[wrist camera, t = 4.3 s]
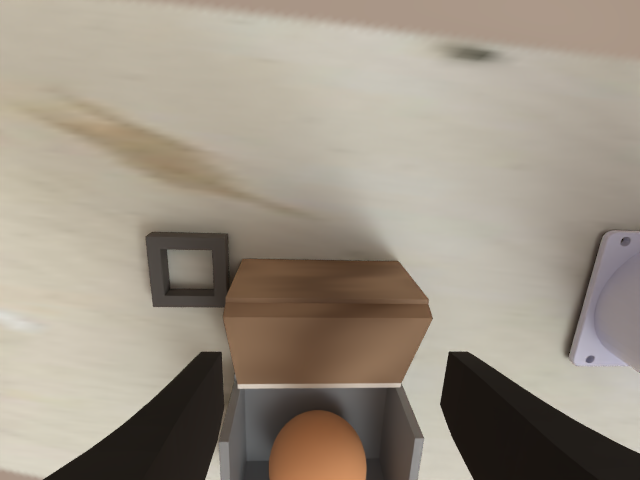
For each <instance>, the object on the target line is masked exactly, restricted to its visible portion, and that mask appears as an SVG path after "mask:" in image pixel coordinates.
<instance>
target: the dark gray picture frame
mask: <svg viewBox="0 0 640 480" xmlns="http://www.w3.org/2000/svg"><path fill="white" fill-rule="evenodd" d="M146 246H147V256H148V265H149V274H150V284H151V293H152V302H153V307H225V304H226V296H227V293H228V291H229V289H230V281H229V254H228V234H221V233H174V232H152V233H150V234H149V235H147V236H146ZM167 249H176V250H212V258H213V278H214V289H170V282H169V271H168V260H167Z"/></svg>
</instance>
